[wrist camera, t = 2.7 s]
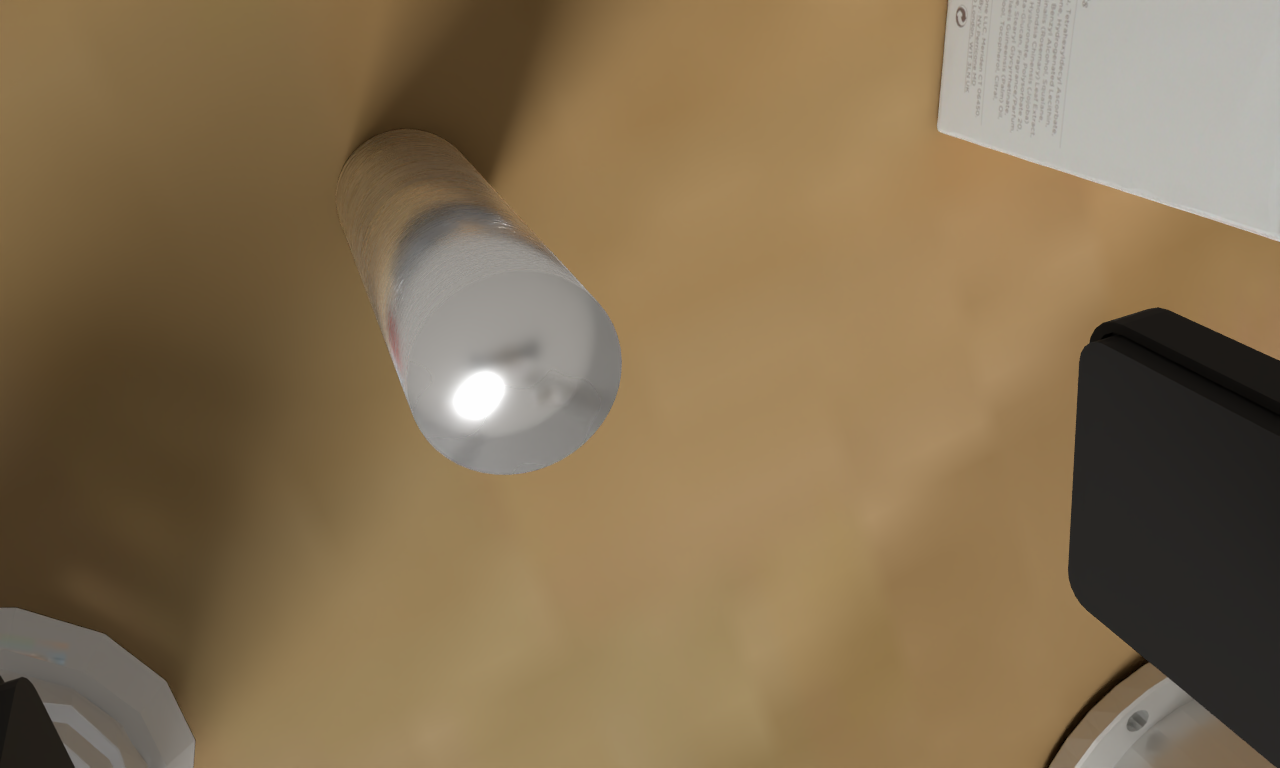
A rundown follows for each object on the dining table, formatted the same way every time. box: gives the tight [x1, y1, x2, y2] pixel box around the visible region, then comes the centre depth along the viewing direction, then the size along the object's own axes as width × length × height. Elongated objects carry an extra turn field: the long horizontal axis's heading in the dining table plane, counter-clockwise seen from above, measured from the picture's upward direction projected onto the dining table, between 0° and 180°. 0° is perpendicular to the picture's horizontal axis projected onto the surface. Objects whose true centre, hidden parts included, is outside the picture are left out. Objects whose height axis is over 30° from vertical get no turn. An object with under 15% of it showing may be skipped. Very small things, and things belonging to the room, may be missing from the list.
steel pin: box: [336, 129, 622, 475], centre depth 20 cm, size 3×3×10 cm
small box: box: [937, 0, 1280, 242], centre depth 23 cm, size 8×6×10 cm
